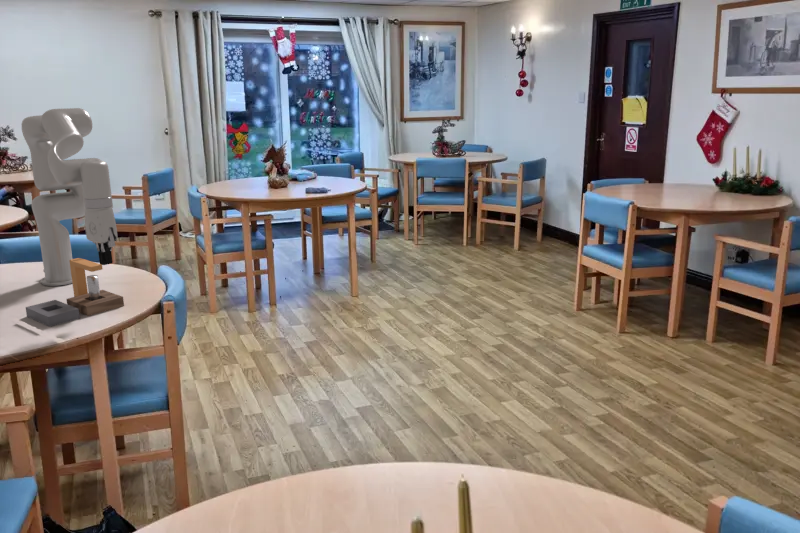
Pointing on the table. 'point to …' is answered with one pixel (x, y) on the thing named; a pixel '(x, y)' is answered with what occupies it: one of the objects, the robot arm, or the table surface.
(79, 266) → the orange angle bracket
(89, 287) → the grey metal rod
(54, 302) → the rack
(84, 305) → the socket block
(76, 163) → the robot arm
